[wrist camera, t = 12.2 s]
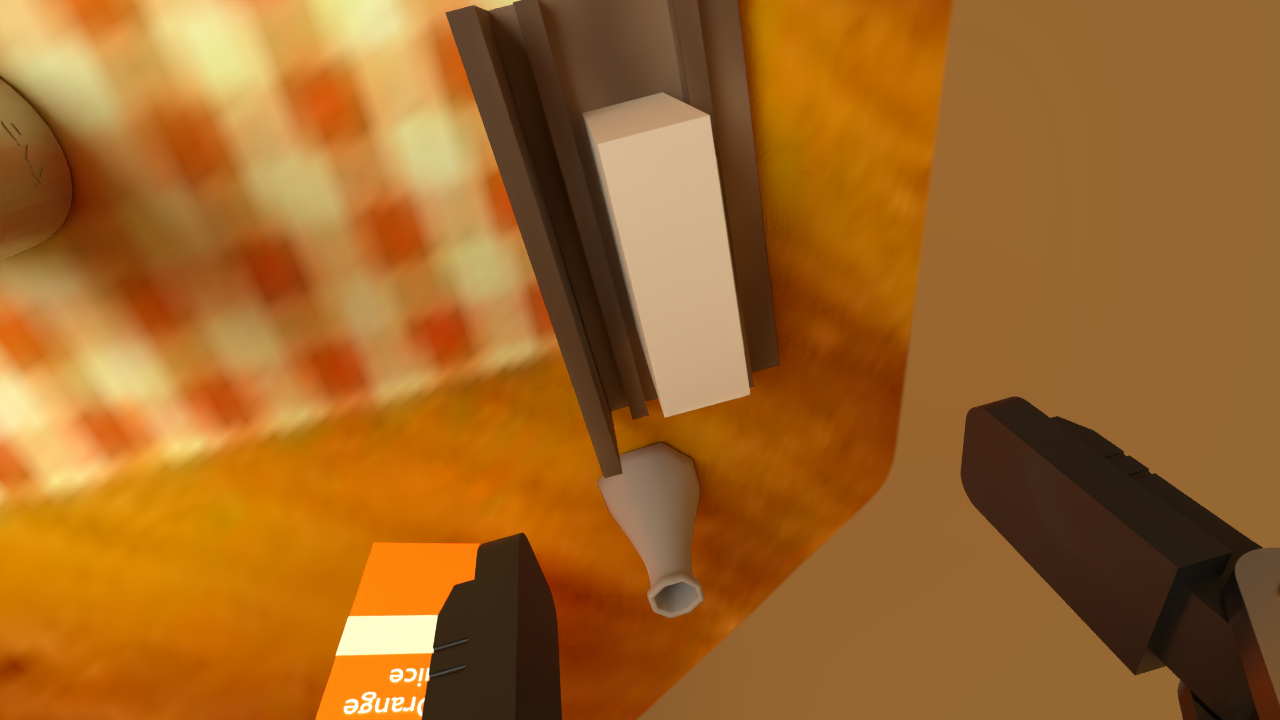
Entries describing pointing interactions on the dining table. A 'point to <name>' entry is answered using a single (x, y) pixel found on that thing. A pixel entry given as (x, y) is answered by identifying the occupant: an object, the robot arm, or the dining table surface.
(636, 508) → the flask
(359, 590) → the orange juice
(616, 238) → the white rectangular block
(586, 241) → the picture ledge
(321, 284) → the dining table surface
